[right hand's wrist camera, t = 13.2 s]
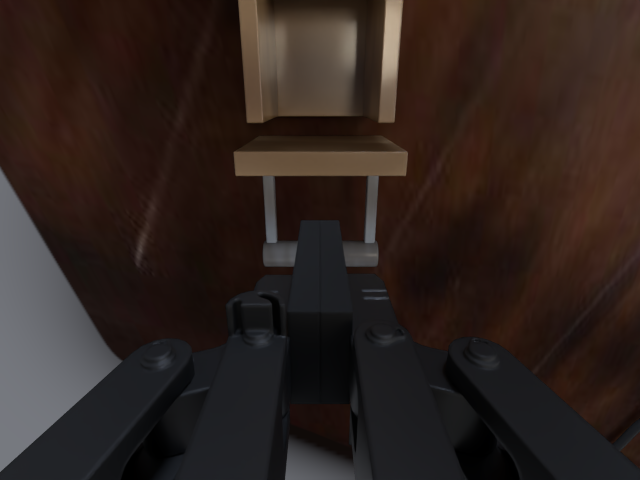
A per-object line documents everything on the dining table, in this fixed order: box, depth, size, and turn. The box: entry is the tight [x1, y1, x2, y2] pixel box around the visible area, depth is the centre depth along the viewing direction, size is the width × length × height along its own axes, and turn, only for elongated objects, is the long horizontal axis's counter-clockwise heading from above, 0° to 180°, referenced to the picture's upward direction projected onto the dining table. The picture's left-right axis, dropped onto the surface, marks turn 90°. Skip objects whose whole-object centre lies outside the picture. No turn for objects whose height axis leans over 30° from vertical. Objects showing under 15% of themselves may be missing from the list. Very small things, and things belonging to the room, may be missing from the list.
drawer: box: [234, 0, 408, 267], centre depth 19 cm, size 25×8×8 cm, turn 0°
